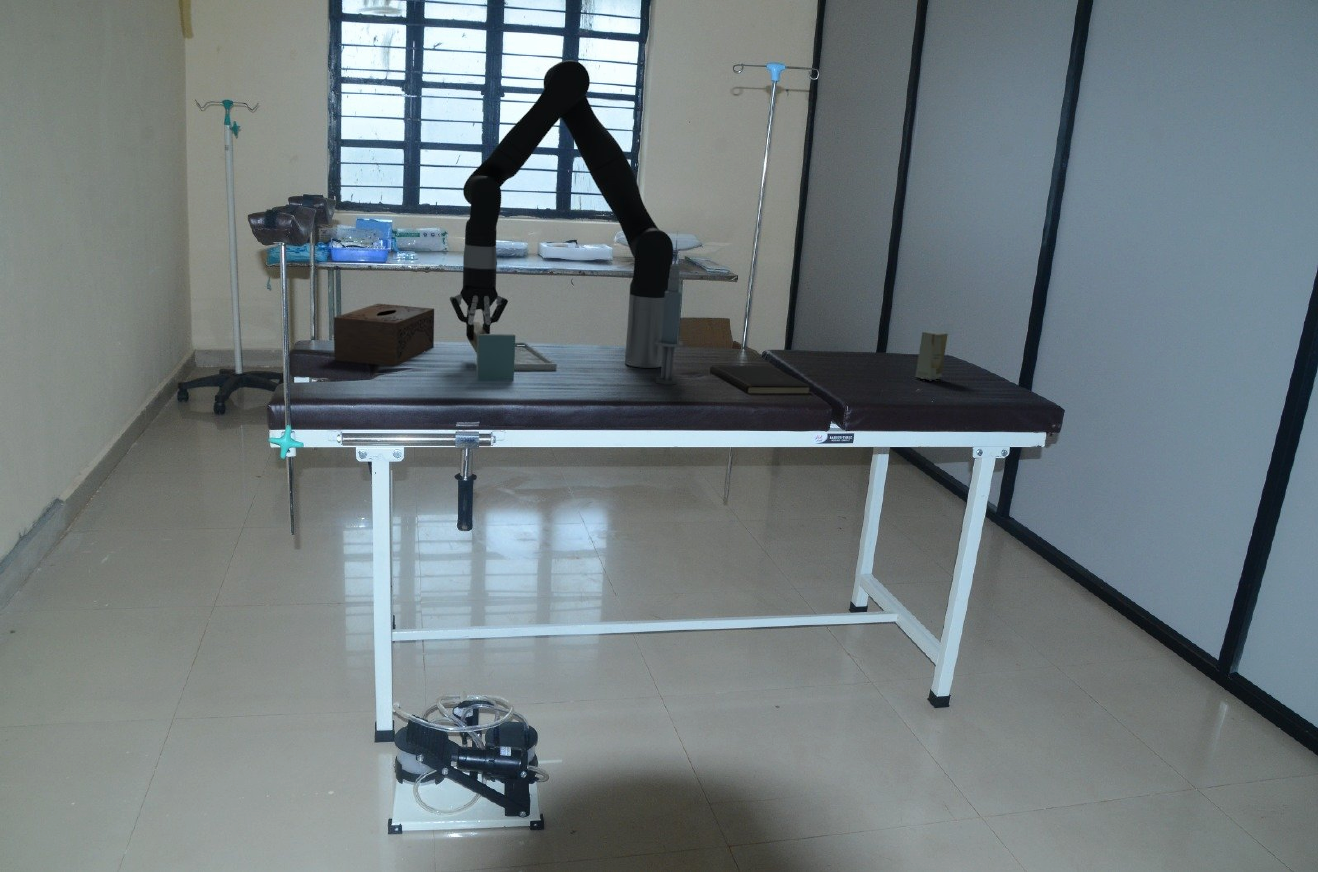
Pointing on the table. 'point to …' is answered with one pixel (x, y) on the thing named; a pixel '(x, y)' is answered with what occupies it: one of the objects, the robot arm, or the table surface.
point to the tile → (495, 357)
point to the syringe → (670, 325)
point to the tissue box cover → (383, 334)
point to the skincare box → (931, 355)
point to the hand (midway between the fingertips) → (477, 339)
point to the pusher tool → (477, 330)
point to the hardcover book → (759, 379)
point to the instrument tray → (531, 359)
